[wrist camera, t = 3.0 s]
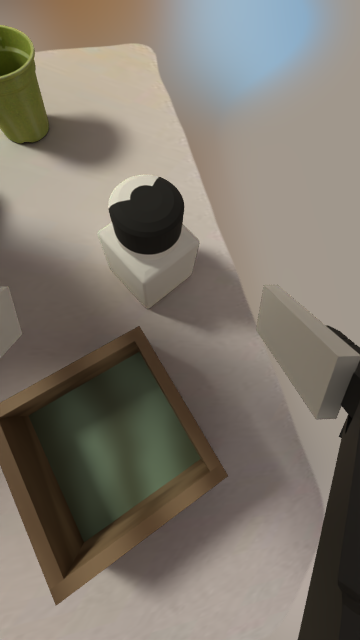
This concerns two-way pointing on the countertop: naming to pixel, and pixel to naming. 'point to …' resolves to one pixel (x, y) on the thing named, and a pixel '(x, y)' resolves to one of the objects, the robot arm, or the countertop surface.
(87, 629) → the countertop surface
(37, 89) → the plant pot
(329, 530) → the robot arm
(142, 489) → the walnut drop box
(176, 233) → the medicine bottle
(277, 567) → the countertop surface
